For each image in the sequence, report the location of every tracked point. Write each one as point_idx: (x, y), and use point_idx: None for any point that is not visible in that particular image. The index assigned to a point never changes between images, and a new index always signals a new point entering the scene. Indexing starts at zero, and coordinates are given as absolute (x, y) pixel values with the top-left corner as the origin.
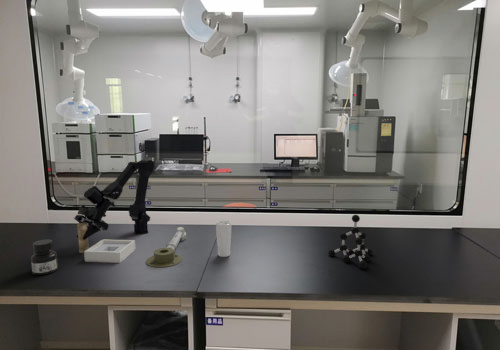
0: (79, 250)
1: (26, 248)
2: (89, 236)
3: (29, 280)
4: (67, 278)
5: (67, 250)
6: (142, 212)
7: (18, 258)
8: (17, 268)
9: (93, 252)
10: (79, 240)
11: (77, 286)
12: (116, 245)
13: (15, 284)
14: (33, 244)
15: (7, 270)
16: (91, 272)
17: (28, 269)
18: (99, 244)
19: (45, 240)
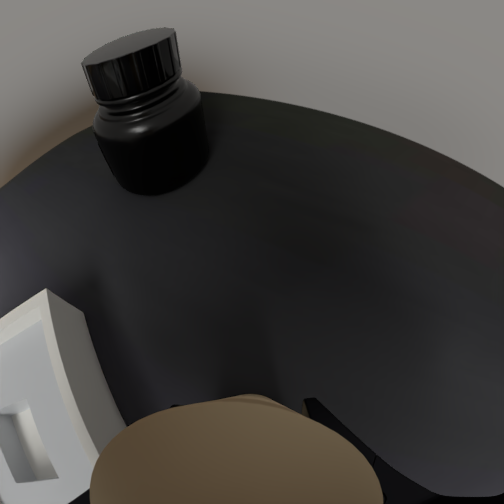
0: (257, 394)
1: (501, 231)
2: None
3: None
4: (45, 189)
5: (373, 356)
6: None
7: (406, 164)
8: (289, 124)
9: (9, 315)
10: (239, 395)
11: (5, 191)
12: (41, 501)
13: None
14: (145, 30)
15: (296, 109)
16: (5, 257)
17: (242, 136)
18: None
19: (135, 46)
